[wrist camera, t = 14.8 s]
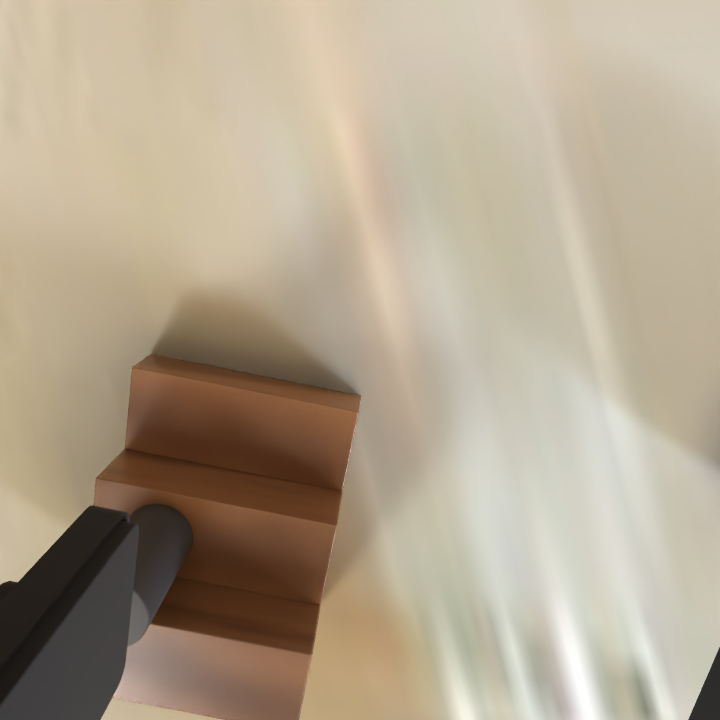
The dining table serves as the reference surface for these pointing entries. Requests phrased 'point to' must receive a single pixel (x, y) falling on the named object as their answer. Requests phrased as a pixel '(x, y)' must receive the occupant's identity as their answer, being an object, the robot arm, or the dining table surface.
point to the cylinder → (156, 561)
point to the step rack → (233, 532)
